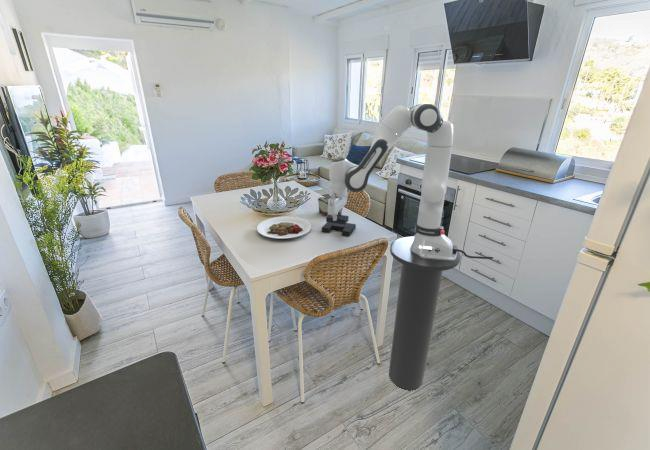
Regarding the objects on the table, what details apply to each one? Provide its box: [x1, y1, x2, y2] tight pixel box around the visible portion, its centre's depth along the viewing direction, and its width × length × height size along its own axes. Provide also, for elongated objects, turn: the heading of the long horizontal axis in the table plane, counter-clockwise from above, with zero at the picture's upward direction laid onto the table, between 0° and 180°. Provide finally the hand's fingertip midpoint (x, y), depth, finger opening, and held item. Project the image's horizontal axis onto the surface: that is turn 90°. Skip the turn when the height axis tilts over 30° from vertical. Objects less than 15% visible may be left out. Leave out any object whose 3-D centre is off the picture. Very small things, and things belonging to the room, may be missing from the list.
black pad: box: [321, 222, 357, 237], centre depth 176 cm, size 16×12×2 cm
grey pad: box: [325, 214, 350, 224], centre depth 160 cm, size 6×10×2 cm, turn 69°
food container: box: [317, 196, 331, 218], centre depth 198 cm, size 12×6×10 cm, turn 34°
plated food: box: [256, 215, 312, 240], centre depth 174 cm, size 30×30×3 cm
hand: (337, 217), depth 160 cm, fingers closed on grey pad, 6 cm apart
